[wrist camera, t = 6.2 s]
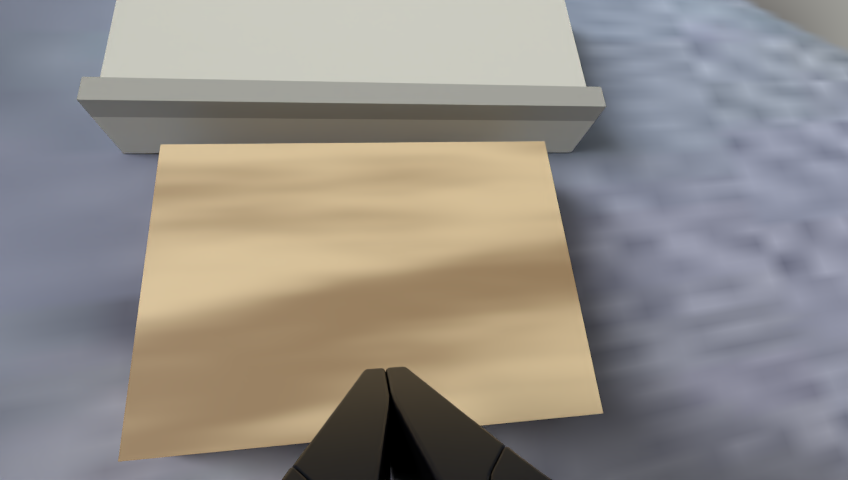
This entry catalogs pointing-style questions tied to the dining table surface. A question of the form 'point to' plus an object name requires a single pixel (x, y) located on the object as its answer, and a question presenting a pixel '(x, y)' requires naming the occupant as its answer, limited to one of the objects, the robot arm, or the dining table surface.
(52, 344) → the dining table surface
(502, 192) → the oak plank
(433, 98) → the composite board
